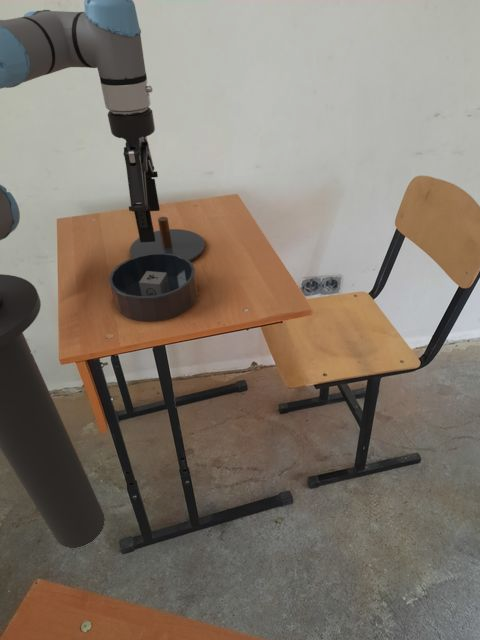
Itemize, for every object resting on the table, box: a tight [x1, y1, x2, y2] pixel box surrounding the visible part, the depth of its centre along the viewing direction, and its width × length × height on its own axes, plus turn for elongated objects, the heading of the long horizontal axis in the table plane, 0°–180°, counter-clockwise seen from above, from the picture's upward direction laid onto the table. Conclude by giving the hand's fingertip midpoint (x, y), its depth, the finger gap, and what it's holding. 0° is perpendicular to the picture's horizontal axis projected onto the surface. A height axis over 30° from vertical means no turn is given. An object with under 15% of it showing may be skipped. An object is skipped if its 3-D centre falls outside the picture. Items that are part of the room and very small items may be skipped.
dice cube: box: [139, 271, 170, 296], centre depth 111 cm, size 5×5×5 cm
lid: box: [129, 216, 206, 262], centre depth 127 cm, size 20×20×9 cm
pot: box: [108, 253, 199, 323], centre depth 111 cm, size 19×19×6 cm
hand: (150, 225), depth 94 cm, fingers open, 13 cm apart
